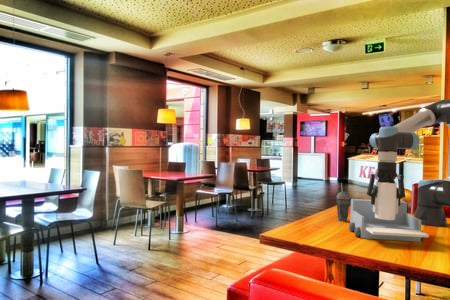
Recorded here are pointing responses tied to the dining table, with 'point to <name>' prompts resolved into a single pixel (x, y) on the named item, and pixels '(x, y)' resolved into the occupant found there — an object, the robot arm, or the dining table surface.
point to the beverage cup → (343, 205)
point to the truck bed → (381, 221)
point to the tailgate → (396, 232)
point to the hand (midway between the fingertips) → (385, 212)
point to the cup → (386, 201)
